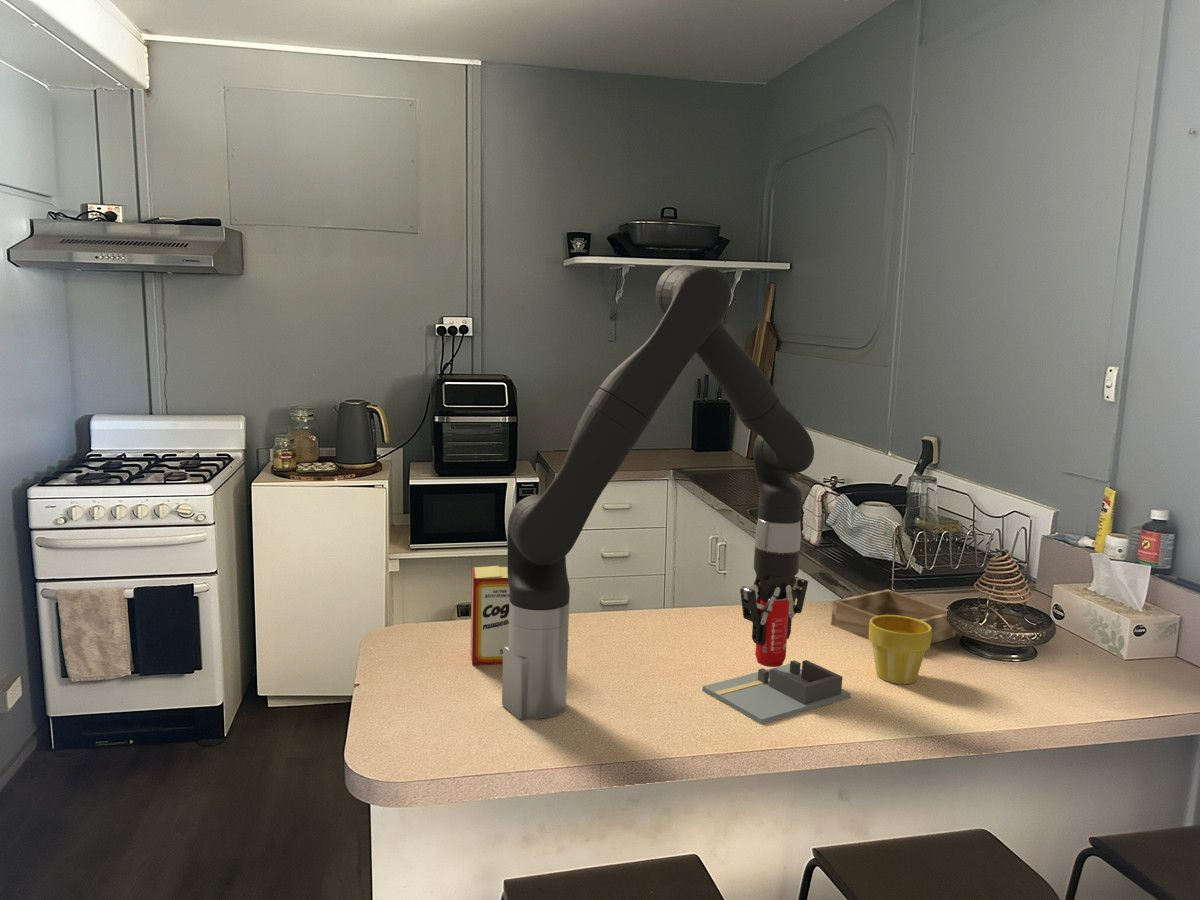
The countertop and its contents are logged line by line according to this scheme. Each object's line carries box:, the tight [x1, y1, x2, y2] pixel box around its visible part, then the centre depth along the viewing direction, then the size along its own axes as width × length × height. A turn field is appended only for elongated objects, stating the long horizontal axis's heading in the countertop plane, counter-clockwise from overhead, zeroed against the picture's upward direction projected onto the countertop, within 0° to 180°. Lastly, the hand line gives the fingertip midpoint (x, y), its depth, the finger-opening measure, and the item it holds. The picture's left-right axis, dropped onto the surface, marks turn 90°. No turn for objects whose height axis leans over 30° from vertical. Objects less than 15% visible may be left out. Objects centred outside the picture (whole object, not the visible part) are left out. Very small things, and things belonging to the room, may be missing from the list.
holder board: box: [702, 659, 852, 725], centre depth 148 cm, size 20×14×4 cm
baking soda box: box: [470, 565, 510, 666], centre depth 159 cm, size 10×6×16 cm
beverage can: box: [754, 597, 789, 668], centre depth 154 cm, size 5×5×12 cm
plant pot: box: [869, 614, 932, 685], centre depth 157 cm, size 10×10×10 cm
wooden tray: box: [830, 589, 957, 644], centre depth 181 cm, size 17×17×5 cm
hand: (771, 640), depth 155 cm, fingers closed on beverage can, 5 cm apart
